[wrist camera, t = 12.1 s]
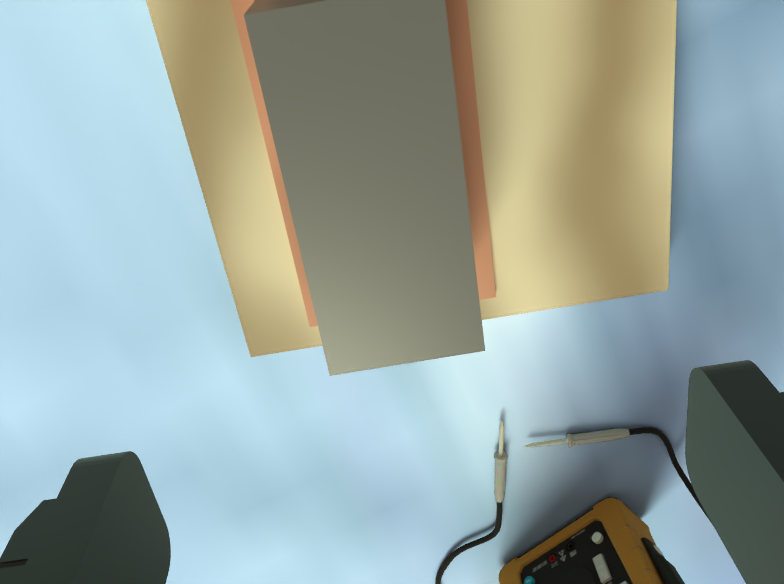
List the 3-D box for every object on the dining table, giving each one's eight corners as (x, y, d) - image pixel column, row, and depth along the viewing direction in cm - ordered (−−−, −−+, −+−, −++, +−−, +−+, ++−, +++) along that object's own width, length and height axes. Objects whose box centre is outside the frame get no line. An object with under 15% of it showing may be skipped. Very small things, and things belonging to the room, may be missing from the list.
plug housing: (423, -39, 22) (442, -20, 18) (462, 275, 27) (485, 350, 23) (263, -11, 22) (243, 14, 18) (331, 296, 27) (329, 375, 23)
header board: (662, -170, 22) (739, -184, 18) (653, 271, 30) (707, 339, 25) (136, -78, 23) (86, -69, 18) (255, 336, 30) (239, 413, 25)
